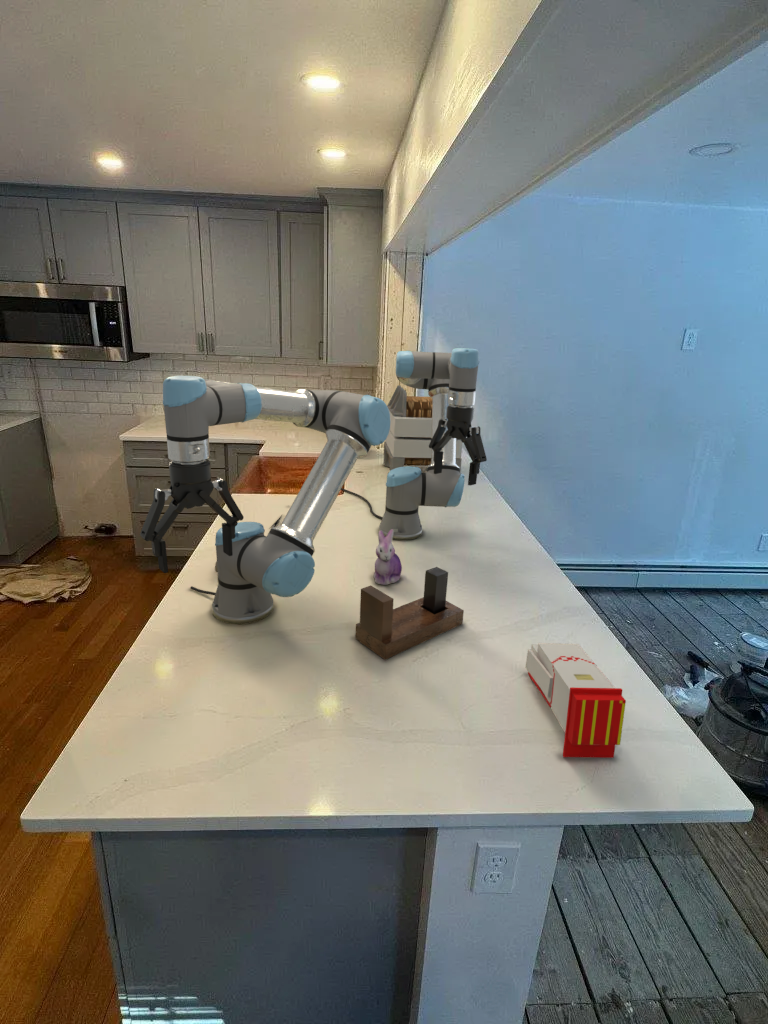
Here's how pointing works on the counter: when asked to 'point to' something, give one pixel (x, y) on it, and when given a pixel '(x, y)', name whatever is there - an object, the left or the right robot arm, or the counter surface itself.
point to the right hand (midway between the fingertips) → (454, 478)
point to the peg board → (400, 623)
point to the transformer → (411, 432)
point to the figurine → (386, 560)
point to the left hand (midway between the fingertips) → (196, 561)
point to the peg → (435, 590)
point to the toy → (578, 698)
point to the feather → (275, 523)
